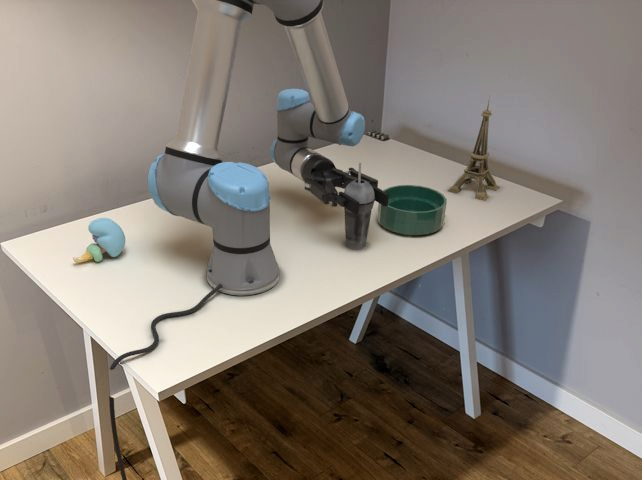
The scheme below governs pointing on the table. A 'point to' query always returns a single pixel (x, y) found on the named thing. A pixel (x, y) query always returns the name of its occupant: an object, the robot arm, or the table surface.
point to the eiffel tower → (482, 170)
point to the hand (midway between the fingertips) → (372, 204)
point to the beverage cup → (359, 223)
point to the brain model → (103, 240)
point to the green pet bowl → (412, 210)
